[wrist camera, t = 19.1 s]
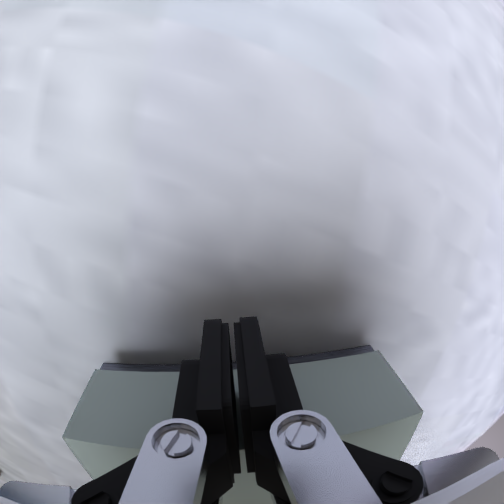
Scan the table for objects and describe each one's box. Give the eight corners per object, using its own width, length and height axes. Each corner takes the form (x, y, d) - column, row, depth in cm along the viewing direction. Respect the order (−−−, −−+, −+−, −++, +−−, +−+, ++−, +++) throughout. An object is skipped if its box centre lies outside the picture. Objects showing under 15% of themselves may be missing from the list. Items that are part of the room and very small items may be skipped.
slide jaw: (352, 446, 14) (375, 499, 10) (138, 461, 13) (127, 518, 9) (378, 350, 12) (423, 411, 8) (95, 369, 11) (62, 437, 7)
